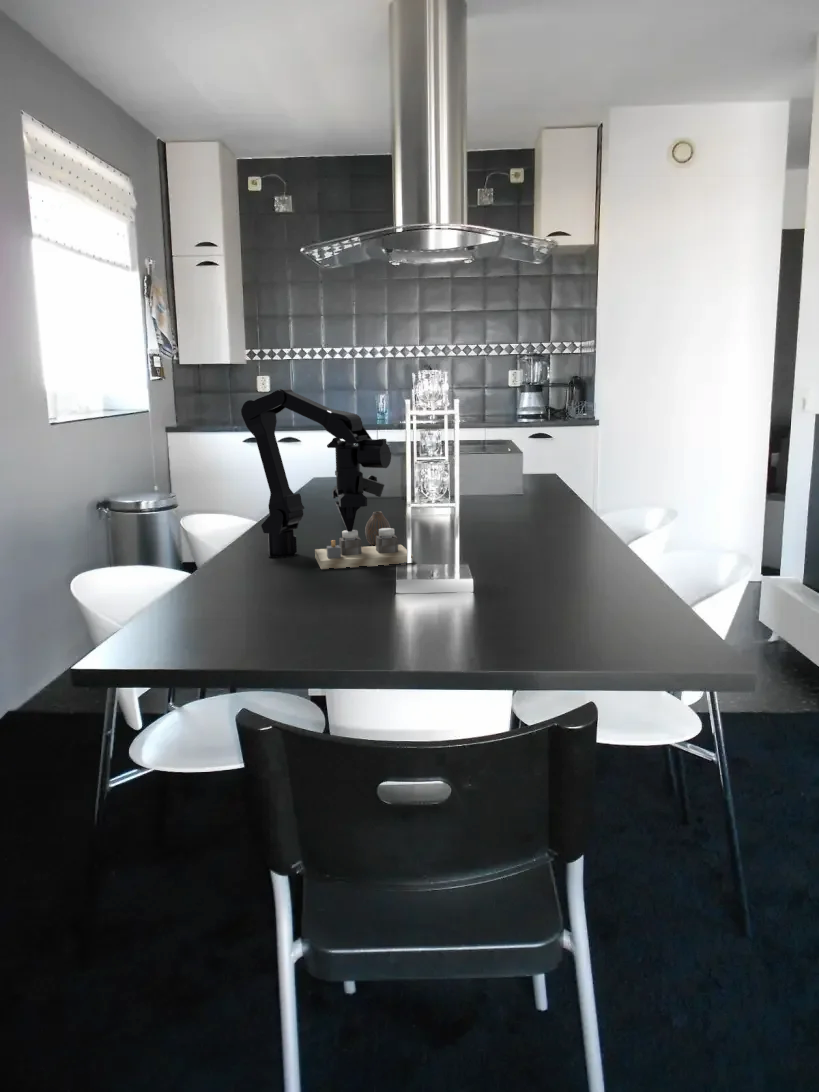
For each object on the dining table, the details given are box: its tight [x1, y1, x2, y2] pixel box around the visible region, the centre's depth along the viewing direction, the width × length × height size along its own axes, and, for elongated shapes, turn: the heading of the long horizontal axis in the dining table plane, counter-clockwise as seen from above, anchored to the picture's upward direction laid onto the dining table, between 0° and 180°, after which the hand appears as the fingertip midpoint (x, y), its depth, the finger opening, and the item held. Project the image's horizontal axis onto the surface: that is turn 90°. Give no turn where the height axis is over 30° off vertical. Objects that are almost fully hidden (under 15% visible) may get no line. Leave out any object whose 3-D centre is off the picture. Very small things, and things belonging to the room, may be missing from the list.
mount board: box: [314, 534, 414, 570], centre depth 201 cm, size 22×14×6 cm, turn 102°
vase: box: [364, 511, 391, 546], centre depth 221 cm, size 7×7×9 cm
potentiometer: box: [326, 539, 341, 559], centre depth 196 cm, size 3×3×4 cm
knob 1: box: [341, 529, 359, 540], centre depth 200 cm, size 4×4×5 cm
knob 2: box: [379, 527, 395, 538], centre depth 202 cm, size 4×4×5 cm
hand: (349, 531), depth 200 cm, fingers closed, pressing on knob 1
